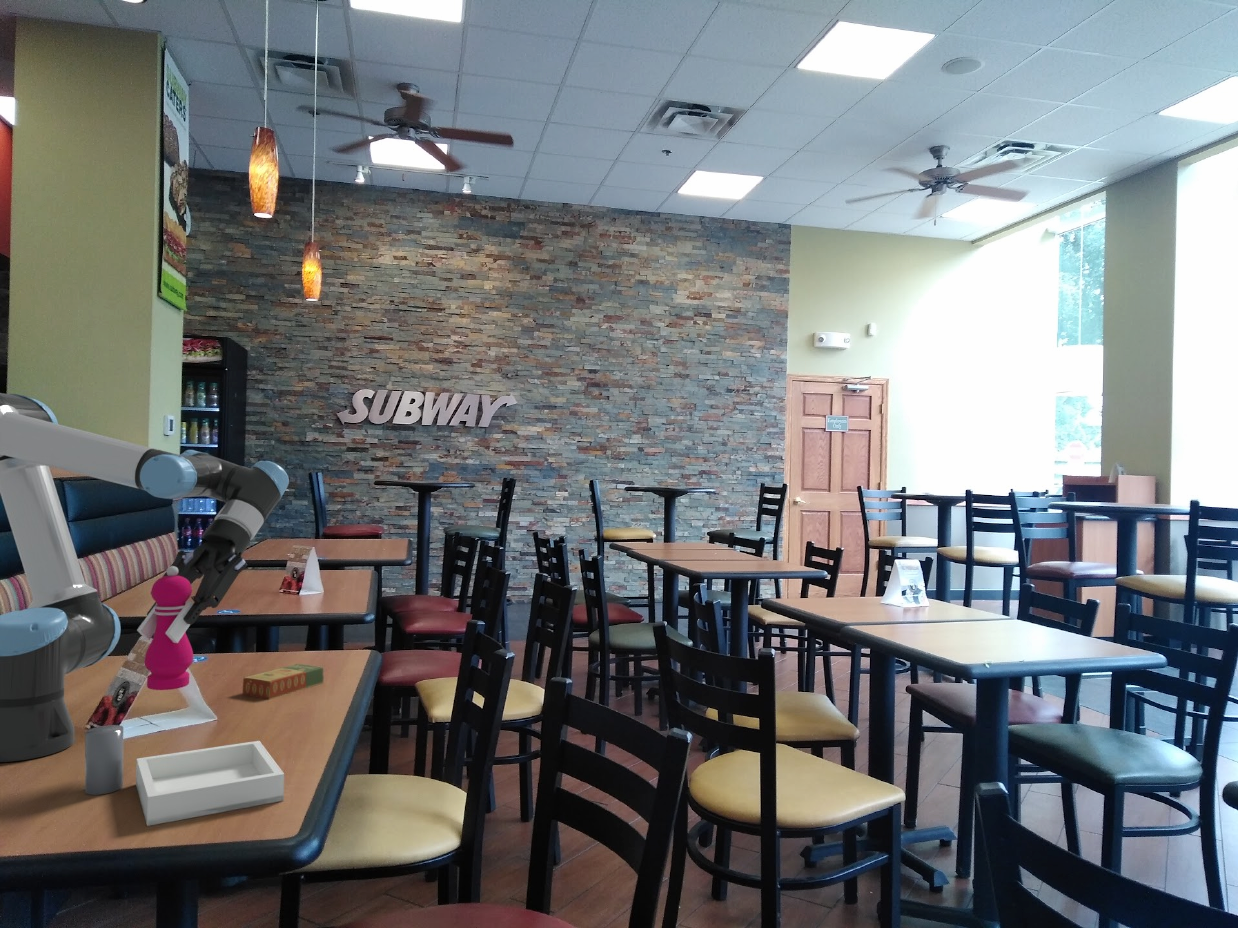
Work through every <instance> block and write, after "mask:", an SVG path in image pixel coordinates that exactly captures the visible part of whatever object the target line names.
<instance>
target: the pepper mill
mask: <svg viewBox="0 0 1238 928" xmlns="http://www.w3.org/2000/svg"><path fill="white" fill-rule="evenodd" d="M170 566H171V565H170ZM170 566H169V567H168V568H166V572H167V575H168V576H164V577H163V576H162V577H160V578H158V579H157V580H155V581H154V583H153V585H152V588H151V591H150V595H151V598H152V600H154V602H156V603H157V605H155V606H154V608H155V611H154V614H156V615H157V626H156V631H155V633H154V634H153V636H152V637H153V638H152V639H151V642H150V643H149V645H148V648H147V650H146V652H145V657H144V666H145V668H146V669H147V670H148V671H149V672H150V674H149V675H147V676H146V677H147V678H146V679H147V681H146V688H147V689H149V690H156V691H169V690H170V691H171V690H177V689H181V688H184V687H187V686H188V685H190V673H189V672H188V671H187V670H188V669H189V667H191V665H192V664H193V662H194V651H193V648H192V645H191V643H190V640H189V638H188V636H187V633H186V632H185V633H184V635H183V636H182V637H181V639H180V640H179V642H178V643H174V642H173V641H172V640H171V639H170V638H169V637H168V636H167V635H166V631H167V630H168V628H169V627H170V626H171V624H172V623H173V621H174V620H175V619H176V617H177V616H178V614H179V613H180V611H181V610H182V609H183V607H184V606H185V604H186V603H187V602H188V601H189V599H190V598H191V597H192V591H193V589H192V584H190V582H189V581H188V580H187V579H186V578H184V577H182V576H178V575H177V574H178V568H177V567H175V566H171V567H170Z"/></svg>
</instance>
